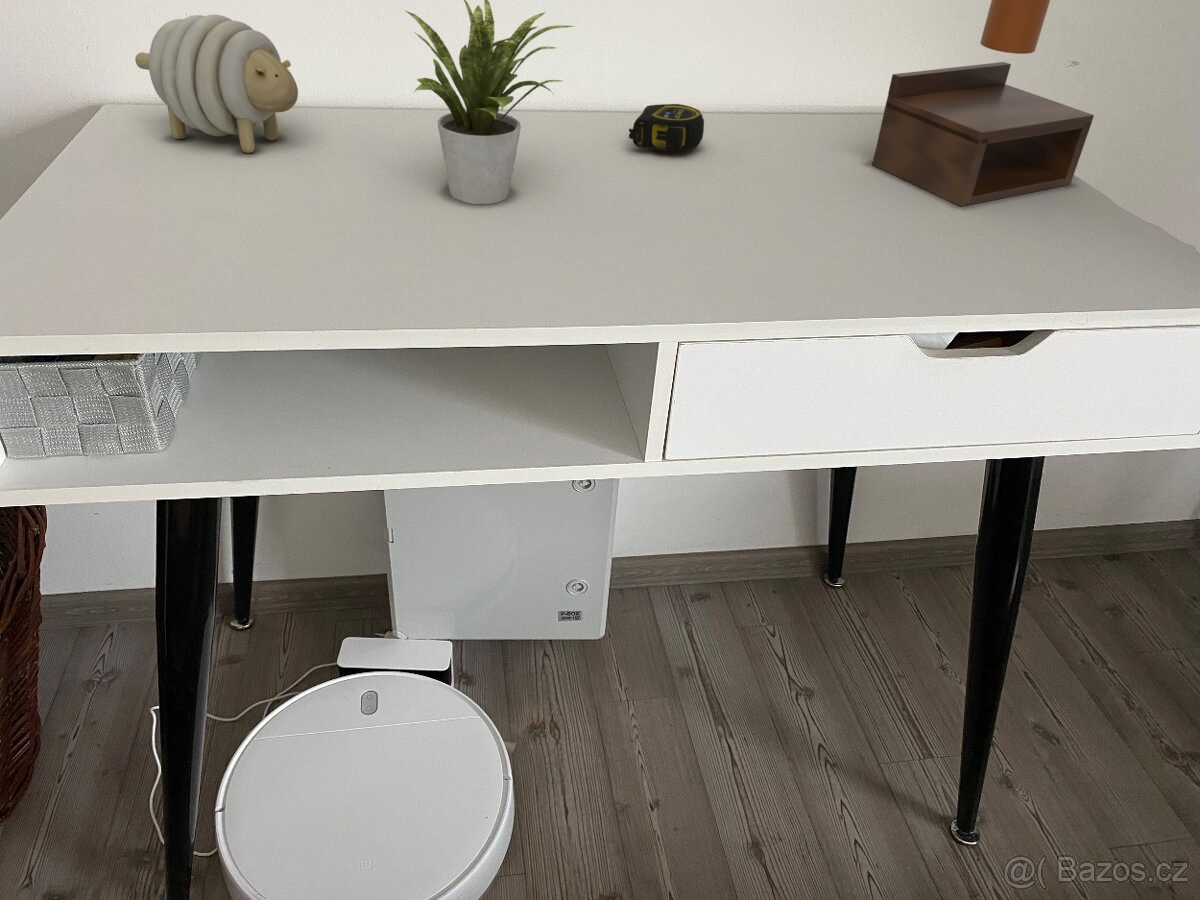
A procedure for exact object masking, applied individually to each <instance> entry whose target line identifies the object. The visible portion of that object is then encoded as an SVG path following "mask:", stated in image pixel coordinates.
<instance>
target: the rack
mask: <svg viewBox="0 0 1200 900" xmlns="http://www.w3.org/2000/svg"><path fill="white" fill-rule="evenodd" d="M1011 66H1012V63H1008V62H1006V61H999V62H991V63H982V64H980V63H979V64H971V65H965V66H962V65H961V66H953V67H946V68H937V69H929V70H928V69H927V70H926V69H925V70H918V71H909V72H908V71H907V72H900V73H892V75H891V79H890V83H889V88H888V93H887V97H886V98H887V99H886V102H885V106H884V110H883V115H882V119H881V123H880V129H879V133H878V137H877V142H876V146H875V151H874V154H873V159H872V163H871V164H872V166H874V167H876V168H878V169H881V170H882V171H885V172H886V173H889V174H891V175H893V176H894V177H895V176H896V177H898V178H900V179H901V180H904V181H906V182H908V183H910V184H912V185H915V186H917V187H918V188H920V189H923V190H925V191H927V192H929V193H931V194H933V195H935V196H938V197H939V198H941V199H944V200H946V201H948V202H950V203H953V204H955V205H957V206H959V207H965V206H969V205H974V204H975V205H976V204H981V203H984V202H985V203H986V202H989V201H995V200H999V199H1005V198H1009V197H1014V196H1015V197H1016V196H1021V195H1024V194H1025V195H1026V194H1030V193H1035V192H1040V191H1045V190H1050V189H1054V188H1060V187H1064V186H1069V185H1071V184H1072V181H1073V178H1074V175H1075V172H1076V170H1077V167H1078V164H1079V162H1080V158H1081V155H1082V152H1083V149H1084V146H1085V144H1086V141H1087V138H1088V135H1089V132H1090V129H1091V126H1092V123H1093V120H1094V116H1095V115H1094V114H1092V113H1089V112H1087V111H1083V110H1080V109H1077V108H1075V107H1072V106H1069V105H1066V104H1063V103H1061V102H1058V101H1055V100H1052V99H1049V98H1047V97H1043V96H1040V95H1037V94H1034V93H1032V92H1030V91H1026V90H1023V89H1021V88H1017V87H1014V86H1012V85H1009V84H1006V83H1007V80H1008V76H1009V73H1010V69H1011Z"/></svg>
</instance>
